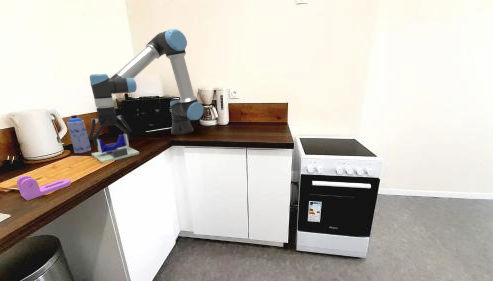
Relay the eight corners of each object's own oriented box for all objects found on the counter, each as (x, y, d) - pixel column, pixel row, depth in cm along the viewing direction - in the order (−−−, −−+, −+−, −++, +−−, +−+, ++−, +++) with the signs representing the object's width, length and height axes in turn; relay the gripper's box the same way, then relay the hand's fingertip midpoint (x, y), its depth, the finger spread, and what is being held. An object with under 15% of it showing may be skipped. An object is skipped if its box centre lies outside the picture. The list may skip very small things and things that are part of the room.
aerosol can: (93, 147, 127) (84, 113, 122) (88, 151, 120) (79, 115, 114) (77, 149, 125) (67, 115, 119) (72, 153, 117) (61, 117, 112)
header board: (126, 147, 125) (125, 140, 124) (139, 153, 113) (137, 146, 112) (92, 155, 113) (90, 148, 112) (102, 163, 101) (100, 155, 100)
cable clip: (102, 152, 107) (99, 141, 106) (98, 151, 110) (96, 139, 108) (127, 146, 117) (125, 135, 115) (123, 145, 119) (121, 134, 118)
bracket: (27, 201, 71) (20, 181, 69) (21, 196, 74) (15, 178, 72) (73, 184, 82) (68, 167, 80) (67, 181, 85) (62, 164, 83)
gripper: (128, 103, 117) (135, 142, 123) (73, 109, 100) (84, 153, 106) (134, 104, 112) (141, 144, 118) (76, 110, 95) (88, 156, 101)
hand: (114, 148), depth 112 cm, fingers closed on cable clip, 12 cm apart
